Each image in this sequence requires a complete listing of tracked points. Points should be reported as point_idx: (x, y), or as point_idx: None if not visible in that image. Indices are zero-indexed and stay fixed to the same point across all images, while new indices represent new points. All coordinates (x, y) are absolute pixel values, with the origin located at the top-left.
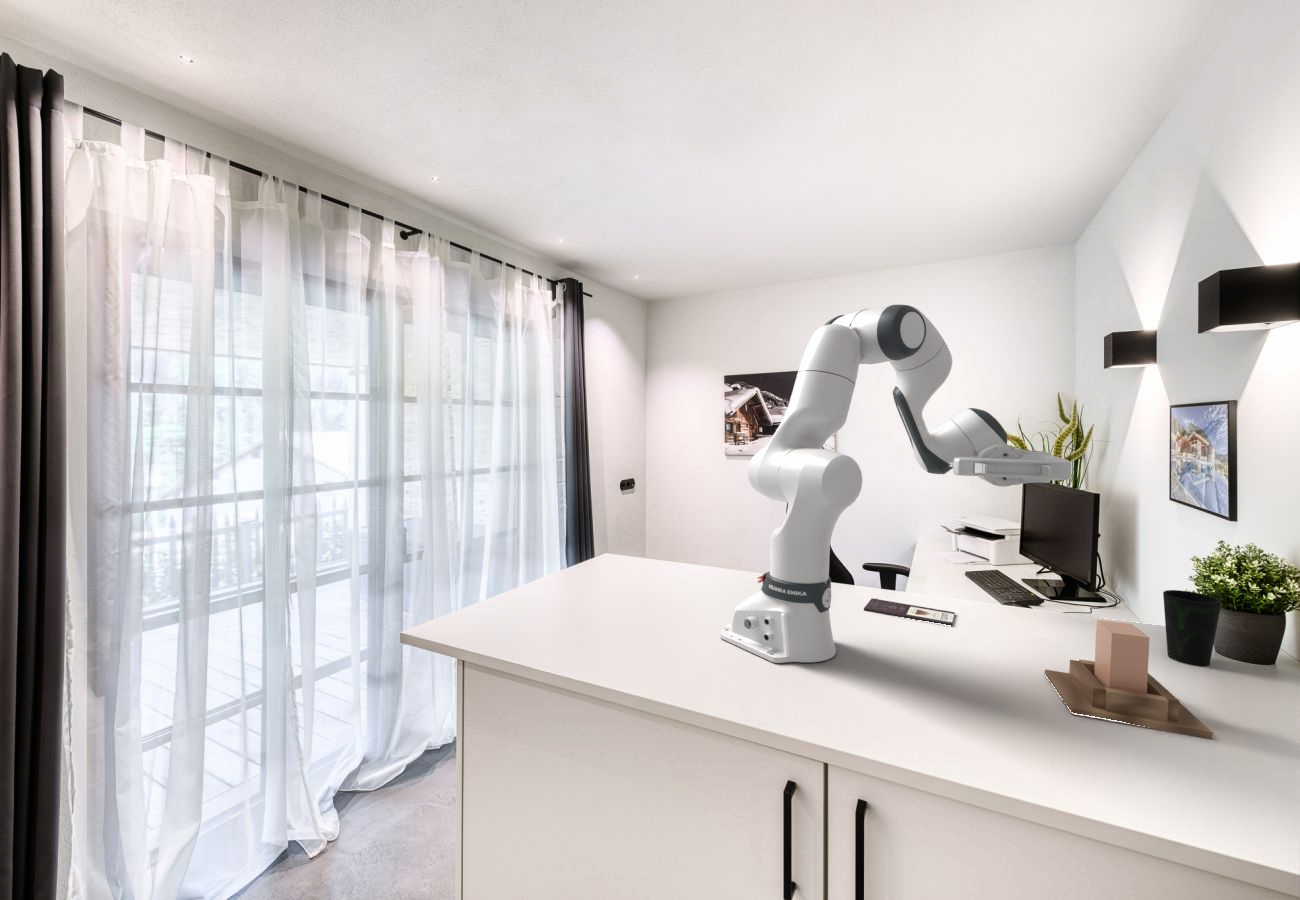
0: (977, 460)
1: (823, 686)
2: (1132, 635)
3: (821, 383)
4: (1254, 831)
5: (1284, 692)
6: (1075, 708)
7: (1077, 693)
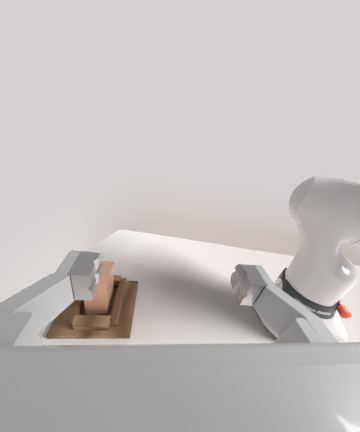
0: (340, 344)
1: None
2: (102, 261)
3: None
4: (117, 236)
5: None
6: (136, 281)
7: (125, 299)
